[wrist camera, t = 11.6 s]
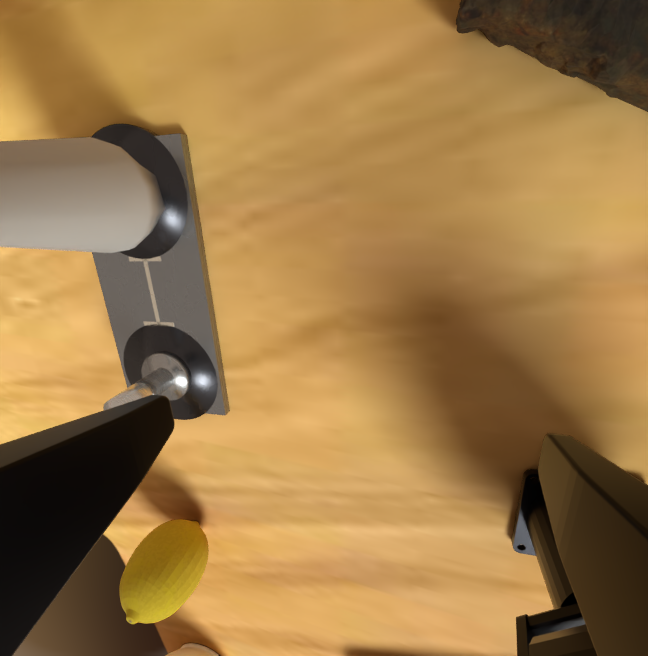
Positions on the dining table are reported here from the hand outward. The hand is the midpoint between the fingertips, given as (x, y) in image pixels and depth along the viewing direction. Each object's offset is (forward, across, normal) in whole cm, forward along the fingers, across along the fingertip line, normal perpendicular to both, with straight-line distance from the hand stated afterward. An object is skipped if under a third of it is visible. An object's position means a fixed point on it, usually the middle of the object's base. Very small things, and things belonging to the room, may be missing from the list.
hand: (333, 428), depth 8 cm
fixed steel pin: (+13, +15, +6) cm, 21 cm away
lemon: (+13, +16, +21) cm, 30 cm away
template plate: (+13, +15, 0) cm, 20 cm away
